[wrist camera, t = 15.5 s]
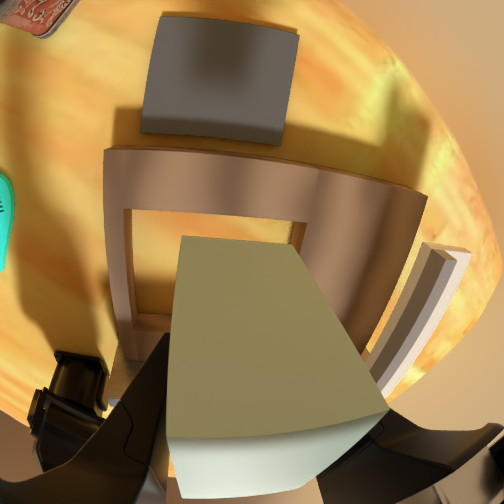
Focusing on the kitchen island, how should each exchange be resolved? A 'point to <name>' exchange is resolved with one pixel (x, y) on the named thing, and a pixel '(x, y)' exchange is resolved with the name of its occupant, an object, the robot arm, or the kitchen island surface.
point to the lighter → (36, 15)
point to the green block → (258, 372)
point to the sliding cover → (416, 312)
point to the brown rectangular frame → (270, 207)
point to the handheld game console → (5, 216)
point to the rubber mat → (219, 80)
